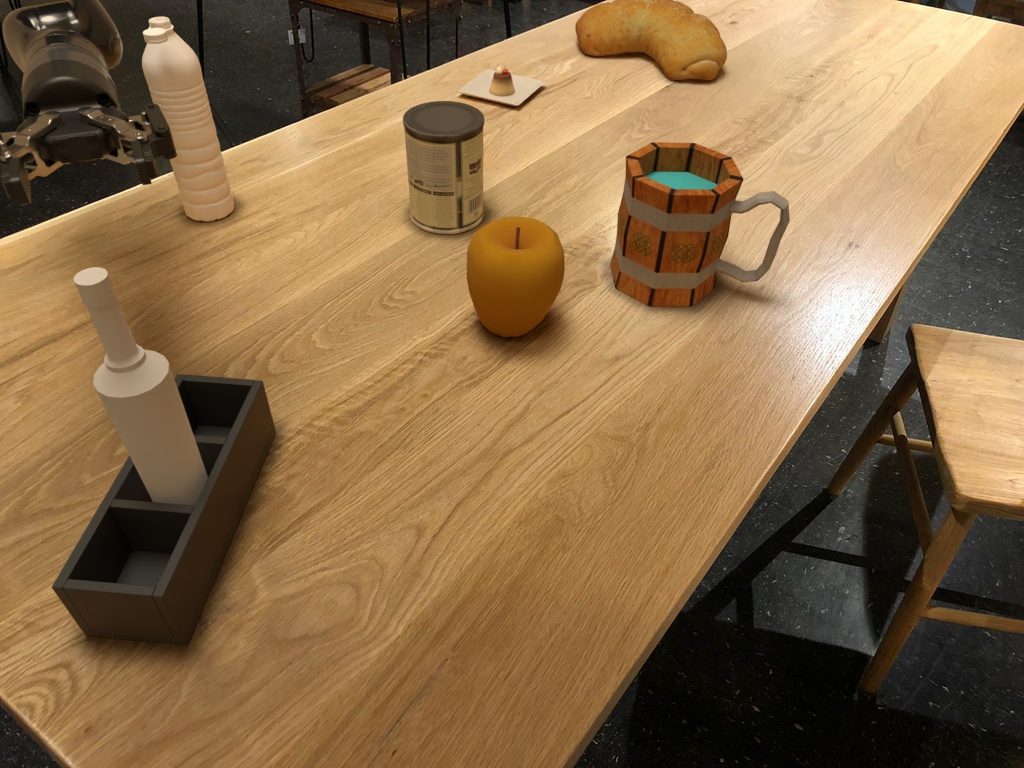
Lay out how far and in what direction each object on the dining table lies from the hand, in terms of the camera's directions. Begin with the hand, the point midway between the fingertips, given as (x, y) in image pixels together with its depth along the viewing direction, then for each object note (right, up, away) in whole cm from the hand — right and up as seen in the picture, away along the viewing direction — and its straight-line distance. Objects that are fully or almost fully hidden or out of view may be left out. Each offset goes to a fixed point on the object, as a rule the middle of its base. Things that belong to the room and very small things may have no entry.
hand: (83, 183), depth 58 cm
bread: (+60, +51, +96) cm, 124 cm away
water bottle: (-9, +8, +47) cm, 48 cm away
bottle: (+4, -27, +9) cm, 28 cm away
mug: (+54, -2, +39) cm, 67 cm away
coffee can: (+23, +8, +49) cm, 55 cm away
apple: (+32, -8, +31) cm, 46 cm away
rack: (+4, -27, +10) cm, 29 cm away
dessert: (+31, +37, +80) cm, 93 cm away
